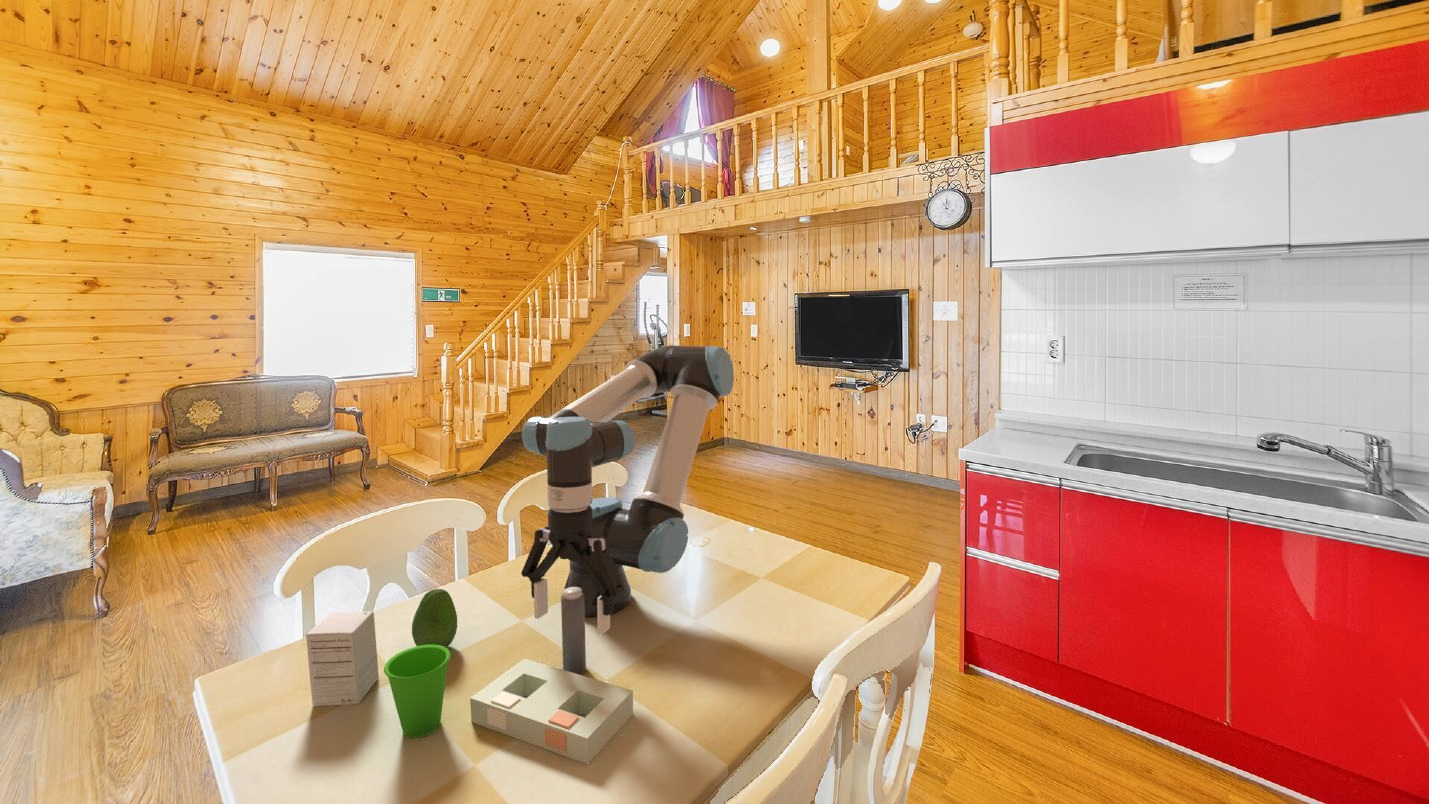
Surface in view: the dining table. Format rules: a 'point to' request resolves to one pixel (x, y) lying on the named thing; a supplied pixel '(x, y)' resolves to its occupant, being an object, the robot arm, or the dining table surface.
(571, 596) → the plug
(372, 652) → the supplement box
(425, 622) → the fruit
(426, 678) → the cup
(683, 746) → the dining table surface
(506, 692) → the socket strip
